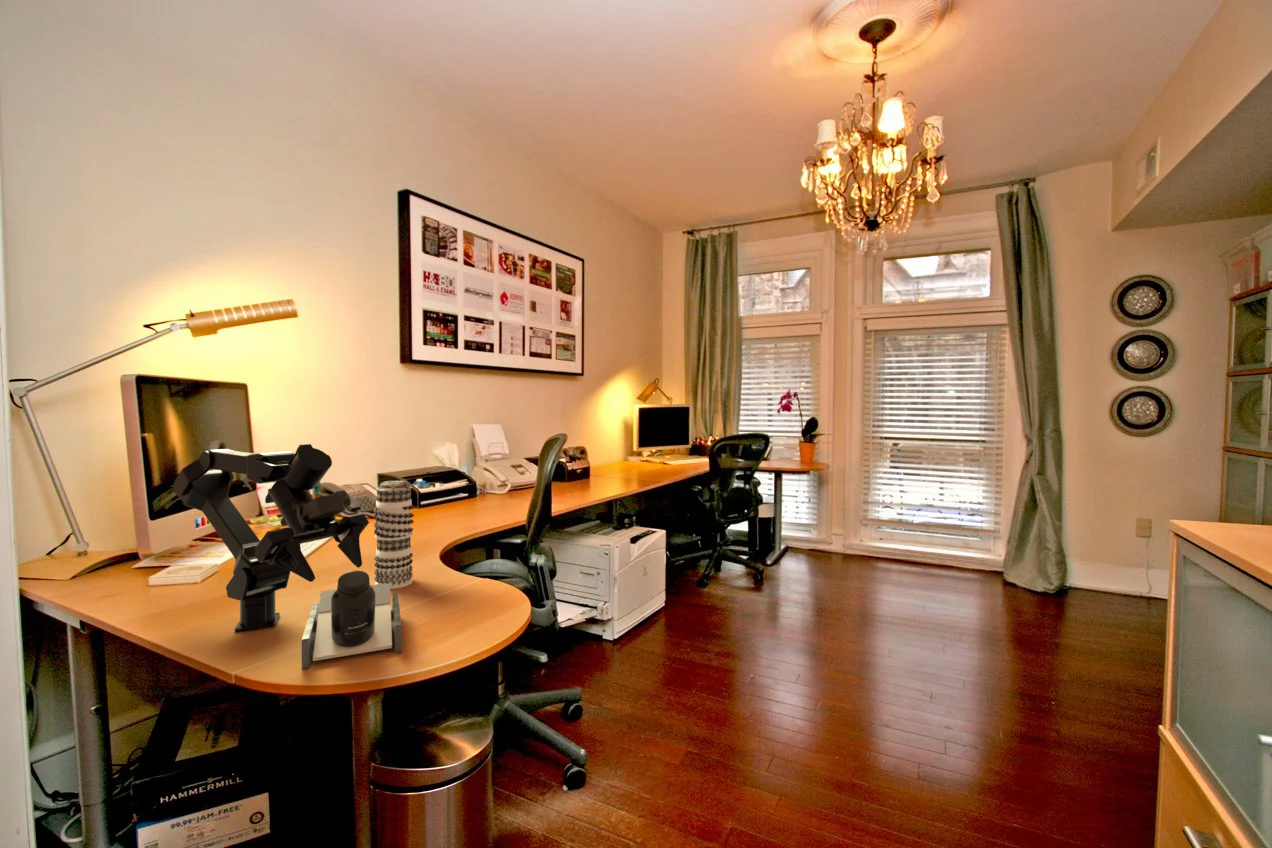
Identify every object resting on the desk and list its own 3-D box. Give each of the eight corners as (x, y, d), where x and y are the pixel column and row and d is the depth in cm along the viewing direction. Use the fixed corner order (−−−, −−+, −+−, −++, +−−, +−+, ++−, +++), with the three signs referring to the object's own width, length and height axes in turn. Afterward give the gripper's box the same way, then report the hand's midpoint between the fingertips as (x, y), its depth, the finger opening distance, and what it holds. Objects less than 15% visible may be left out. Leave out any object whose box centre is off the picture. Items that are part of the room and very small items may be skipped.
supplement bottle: (354, 654, 91) (354, 597, 87) (322, 640, 93) (319, 583, 88) (383, 628, 97) (384, 574, 93) (352, 616, 99) (352, 562, 95)
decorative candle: (405, 575, 138) (405, 478, 137) (420, 583, 131) (420, 482, 131) (367, 582, 131) (367, 481, 131) (381, 592, 125) (381, 485, 124)
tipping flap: (321, 603, 104) (321, 591, 103) (389, 595, 109) (389, 583, 108) (313, 671, 90) (312, 657, 89) (391, 657, 95) (392, 644, 94)
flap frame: (313, 628, 104) (313, 603, 104) (397, 616, 111) (397, 592, 110) (301, 669, 88) (301, 639, 88) (401, 652, 94) (401, 624, 94)
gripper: (264, 484, 89) (308, 558, 85) (362, 472, 106) (403, 534, 102) (236, 525, 93) (276, 599, 88) (335, 508, 110) (373, 569, 106)
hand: (337, 572), depth 96 cm, fingers open, 9 cm apart
